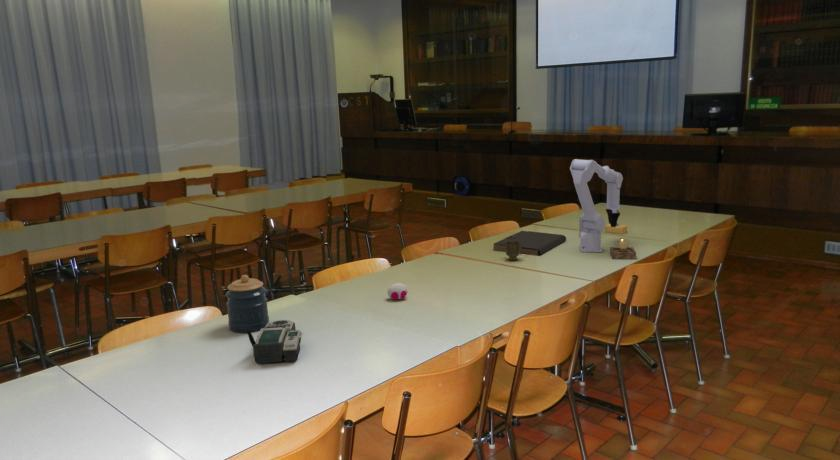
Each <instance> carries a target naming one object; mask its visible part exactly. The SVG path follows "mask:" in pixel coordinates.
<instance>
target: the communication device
mask: <svg viewBox="0 0 840 460" xmlns="http://www.w3.org/2000/svg"><path fill="white" fill-rule="evenodd" d="M246 333H247V336H248V339H249V342H250V345H251V346H252V351H253V357H254V363H256V364H258V365H259V364H271V363H273V364H274V363H282V362H283V361H285V362H295V361H296V360H299V359H298V358H299V354H300V353H301V341H302V337H303V335H304V334H303V332H301V330H300V329H296V323H295V322H294V321H292V320H290V319H289V320H288V319H280V320H273V321H269V323H268V324H267V325H266V326H265V327H264V328H262V329H260V330H259V333H258V334H257V336H256V340H255V338H254V336H253V334H252V332H250V330H247V332H246Z"/></svg>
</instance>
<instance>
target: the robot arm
mask: <svg viewBox="0 0 840 460" xmlns="http://www.w3.org/2000/svg"><path fill="white" fill-rule="evenodd" d="M569 171H570V174H571V176H572V180H573V184H574V188H575V191H576V194H577V196H578V201H579V203H580V206H581V210H582V214H581V216H580V217H581V218H580V217H579V220H580V219H581V226H582V228H583V229H584V231H583V232H580V237H579V251H580V252H583V253H587V252H588V253H602V252H603V250H602V247H601V244H602V243H601V242H602V239H601V238H602V233H603V232H604V229H605V225H606V221H605V220H606V219H604V217H603V216H602V214H601V213H599V212H598V211H597V210H596V206H595V204H594V201H593V197H592V194H591V192H590V188H589V186H588V182H590V181H591V179H592V178H593V176H594V174H595V173H596V174H597V176H598V178H600V179H602V181H603V180H604V182H605V184H606V186H607V187H606V208H605V212H606V214H607V220H608V224H611V227H616V224H618V220H619V217H620V216H621V212H619V213H617V211H619V209H622V208H623V207H622V205H620V200H621V199H620V194H621V191H620V190H621V187H622V183H623V180H624V177H623V175H622V173H621V172H618V171H615V169H611V168H610V166H609V165H603V166H601V165H600V164H598V163H597V161H595V160H594V159H579V158H575V159H572V161H571V163H570V166H569Z"/></svg>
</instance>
